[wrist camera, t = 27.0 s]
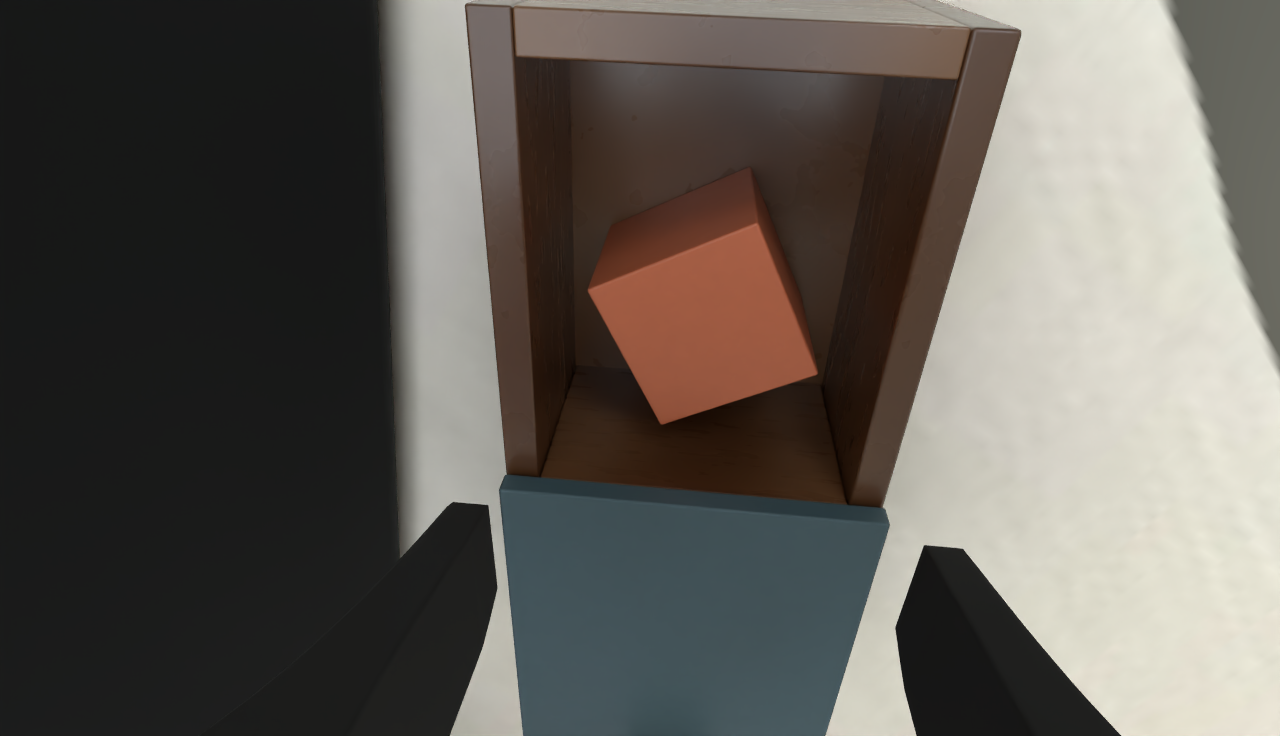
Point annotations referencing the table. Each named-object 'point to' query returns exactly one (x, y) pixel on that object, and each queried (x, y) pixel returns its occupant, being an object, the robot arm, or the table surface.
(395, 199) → the table surface
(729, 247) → the block
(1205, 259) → the table surface
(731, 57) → the brown wooden box
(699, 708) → the blue-grey slab
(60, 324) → the device stand
